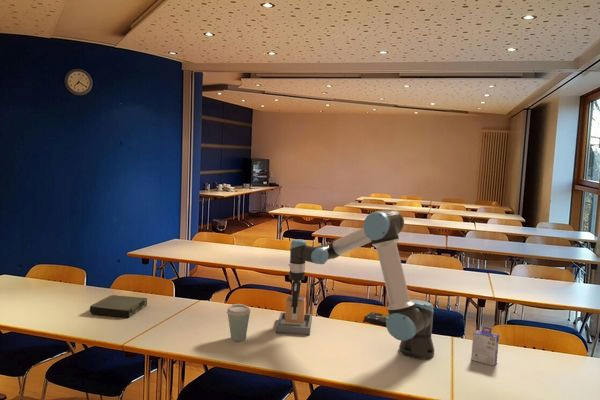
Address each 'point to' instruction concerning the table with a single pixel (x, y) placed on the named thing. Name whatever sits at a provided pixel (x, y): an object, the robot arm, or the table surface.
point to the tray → (294, 325)
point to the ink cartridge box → (485, 346)
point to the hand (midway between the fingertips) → (294, 317)
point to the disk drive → (376, 318)
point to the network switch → (118, 306)
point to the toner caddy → (299, 314)
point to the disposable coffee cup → (238, 321)
